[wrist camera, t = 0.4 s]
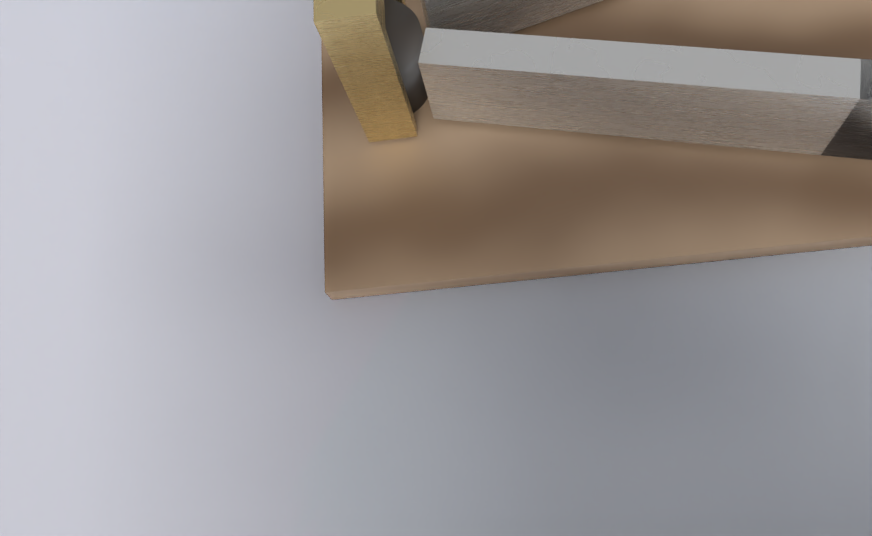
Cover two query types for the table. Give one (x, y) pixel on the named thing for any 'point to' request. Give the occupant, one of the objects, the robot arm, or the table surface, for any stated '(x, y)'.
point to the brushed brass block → (366, 65)
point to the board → (583, 168)
